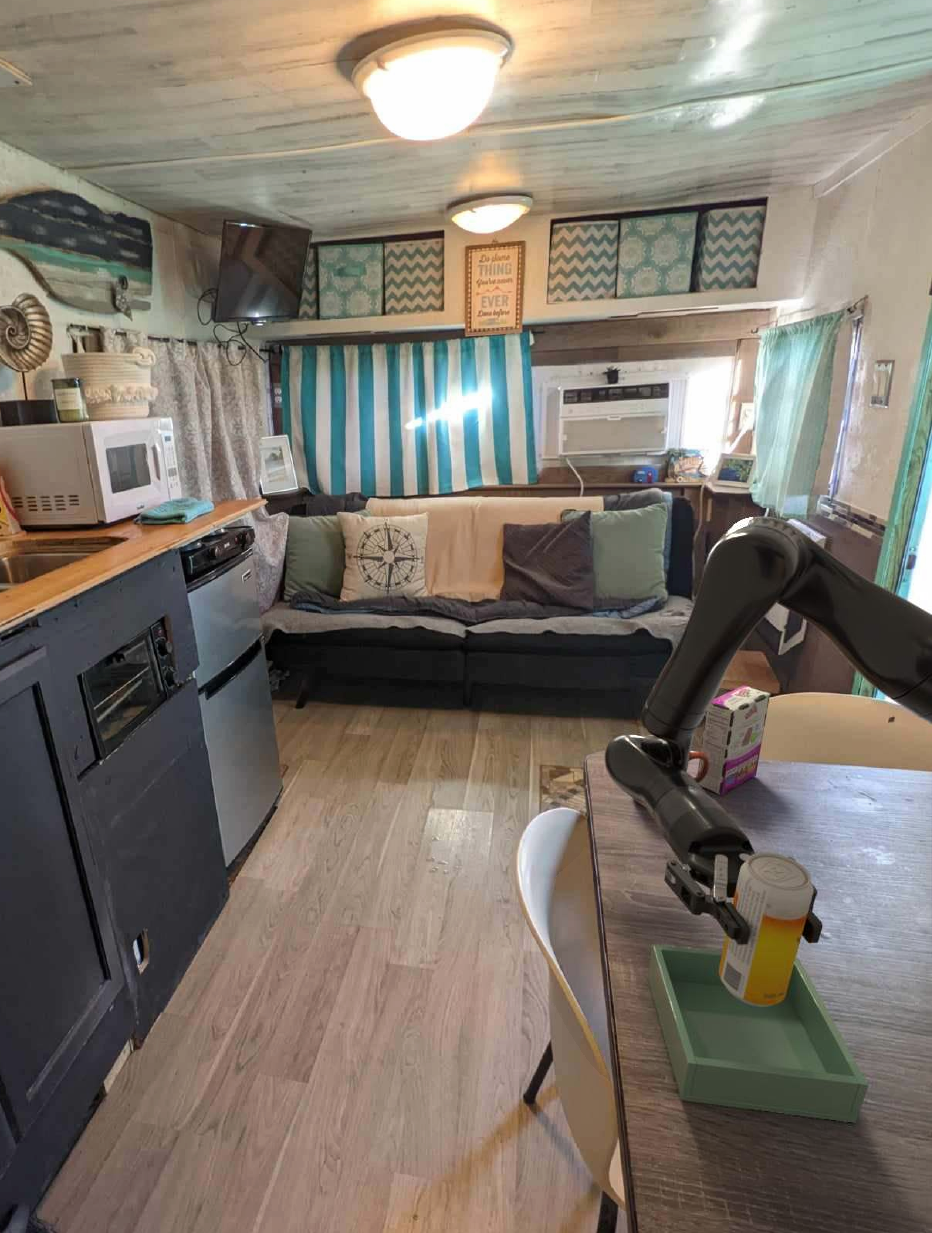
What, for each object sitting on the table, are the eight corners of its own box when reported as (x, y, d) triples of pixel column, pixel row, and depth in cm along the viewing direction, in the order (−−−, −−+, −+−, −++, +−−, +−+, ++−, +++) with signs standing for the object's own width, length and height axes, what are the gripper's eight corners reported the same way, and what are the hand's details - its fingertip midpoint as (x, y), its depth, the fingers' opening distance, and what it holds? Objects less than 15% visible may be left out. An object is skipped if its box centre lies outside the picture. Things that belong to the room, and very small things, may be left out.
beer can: (797, 995, 70) (830, 877, 64) (759, 1020, 67) (790, 899, 62) (742, 955, 75) (768, 842, 69) (704, 977, 72) (728, 862, 67)
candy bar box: (729, 765, 127) (744, 684, 121) (756, 776, 123) (773, 693, 117) (693, 784, 121) (706, 700, 115) (720, 796, 117) (735, 710, 111)
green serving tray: (789, 992, 79) (798, 957, 77) (856, 1124, 65) (869, 1085, 63) (647, 978, 82) (652, 943, 80) (680, 1100, 68) (688, 1062, 66)
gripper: (641, 807, 80) (711, 908, 64) (766, 803, 79) (867, 904, 64) (634, 859, 83) (699, 969, 67) (755, 856, 82) (848, 965, 67)
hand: (780, 936), depth 65 cm, fingers closed on beer can, 6 cm apart
